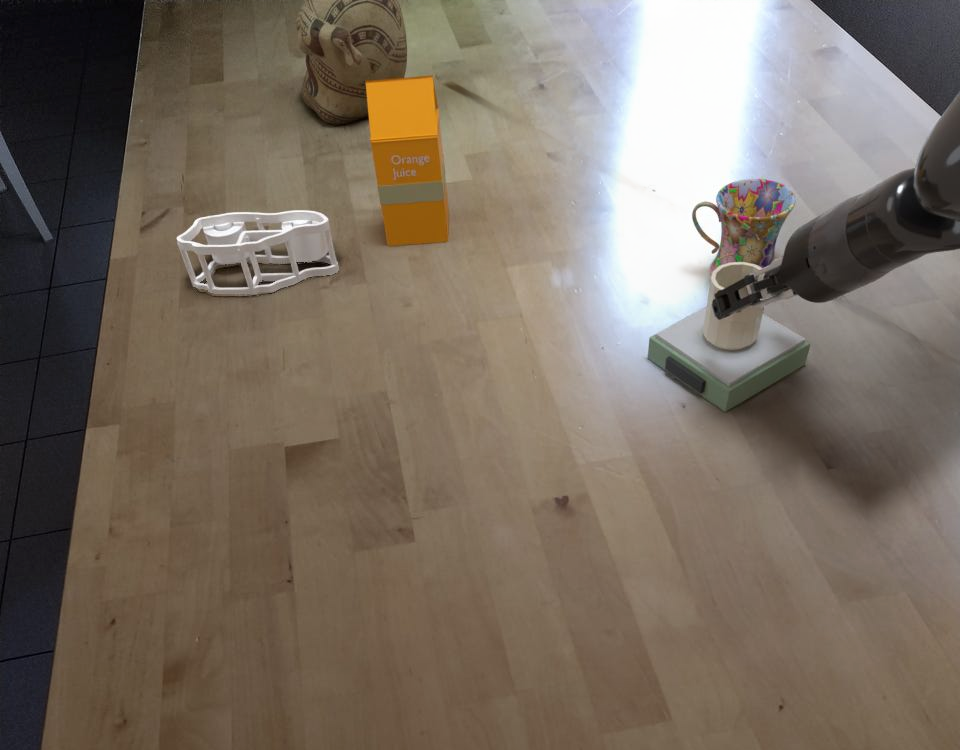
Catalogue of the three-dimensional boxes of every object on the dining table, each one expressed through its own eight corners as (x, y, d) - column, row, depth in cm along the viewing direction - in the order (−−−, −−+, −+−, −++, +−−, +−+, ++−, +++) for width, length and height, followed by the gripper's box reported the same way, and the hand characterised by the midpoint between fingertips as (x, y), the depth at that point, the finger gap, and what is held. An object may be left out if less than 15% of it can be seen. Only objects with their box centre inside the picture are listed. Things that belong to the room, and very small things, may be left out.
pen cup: (729, 313, 106) (739, 255, 100) (769, 338, 103) (782, 279, 97) (690, 335, 104) (698, 276, 98) (730, 360, 101) (740, 301, 95)
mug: (784, 263, 117) (802, 183, 109) (770, 304, 113) (788, 222, 104) (693, 251, 121) (704, 171, 112) (676, 289, 116) (686, 210, 107)
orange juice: (448, 242, 126) (432, 89, 110) (387, 246, 127) (361, 94, 111) (449, 213, 131) (434, 62, 115) (389, 217, 131) (366, 67, 115)
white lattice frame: (345, 250, 127) (334, 199, 121) (331, 295, 121) (319, 244, 115) (210, 253, 129) (193, 203, 123) (189, 298, 123) (170, 248, 117)
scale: (725, 315, 112) (729, 290, 109) (805, 364, 105) (812, 339, 102) (644, 360, 108) (646, 335, 105) (721, 414, 101) (726, 389, 98)
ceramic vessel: (293, 138, 148) (242, -86, 124) (313, 81, 161) (270, -132, 137) (407, 132, 147) (377, -96, 123) (418, 75, 159) (393, -142, 135)
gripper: (897, 184, 83) (793, 244, 98) (769, 230, 80) (683, 283, 95) (919, 265, 84) (813, 311, 100) (793, 312, 81) (705, 352, 97)
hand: (749, 297), depth 98 cm, fingers open, 8 cm apart
